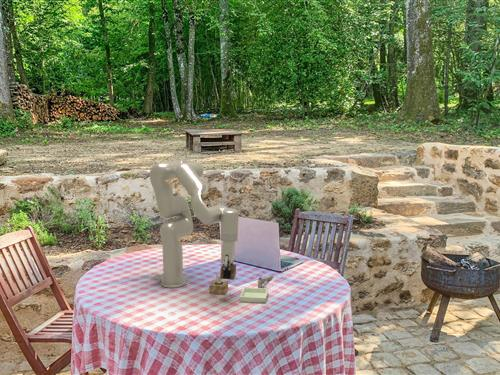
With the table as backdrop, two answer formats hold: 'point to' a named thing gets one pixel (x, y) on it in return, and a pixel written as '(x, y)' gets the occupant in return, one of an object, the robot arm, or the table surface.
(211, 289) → the brown hex nut
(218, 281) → the pin
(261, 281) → the caliper
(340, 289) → the table surface
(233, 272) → the block
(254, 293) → the tray
